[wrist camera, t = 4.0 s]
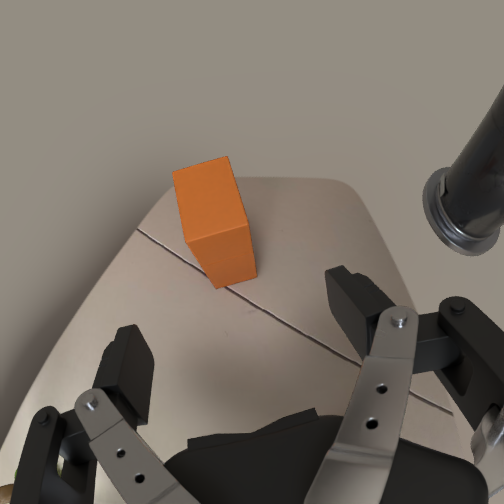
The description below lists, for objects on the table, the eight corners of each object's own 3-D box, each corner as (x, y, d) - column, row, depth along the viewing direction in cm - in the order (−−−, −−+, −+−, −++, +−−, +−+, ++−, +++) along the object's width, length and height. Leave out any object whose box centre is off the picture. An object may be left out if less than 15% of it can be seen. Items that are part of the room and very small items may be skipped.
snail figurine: (25, 470, 22) (-46, 484, 10) (49, 451, 23) (-28, 464, 12) (51, 507, 20) (-15, 533, 9) (78, 491, 21) (6, 521, 10)
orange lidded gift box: (241, 225, 31) (227, 155, 21) (257, 277, 29) (249, 224, 19) (202, 236, 31) (171, 171, 21) (215, 289, 29) (185, 242, 19)
